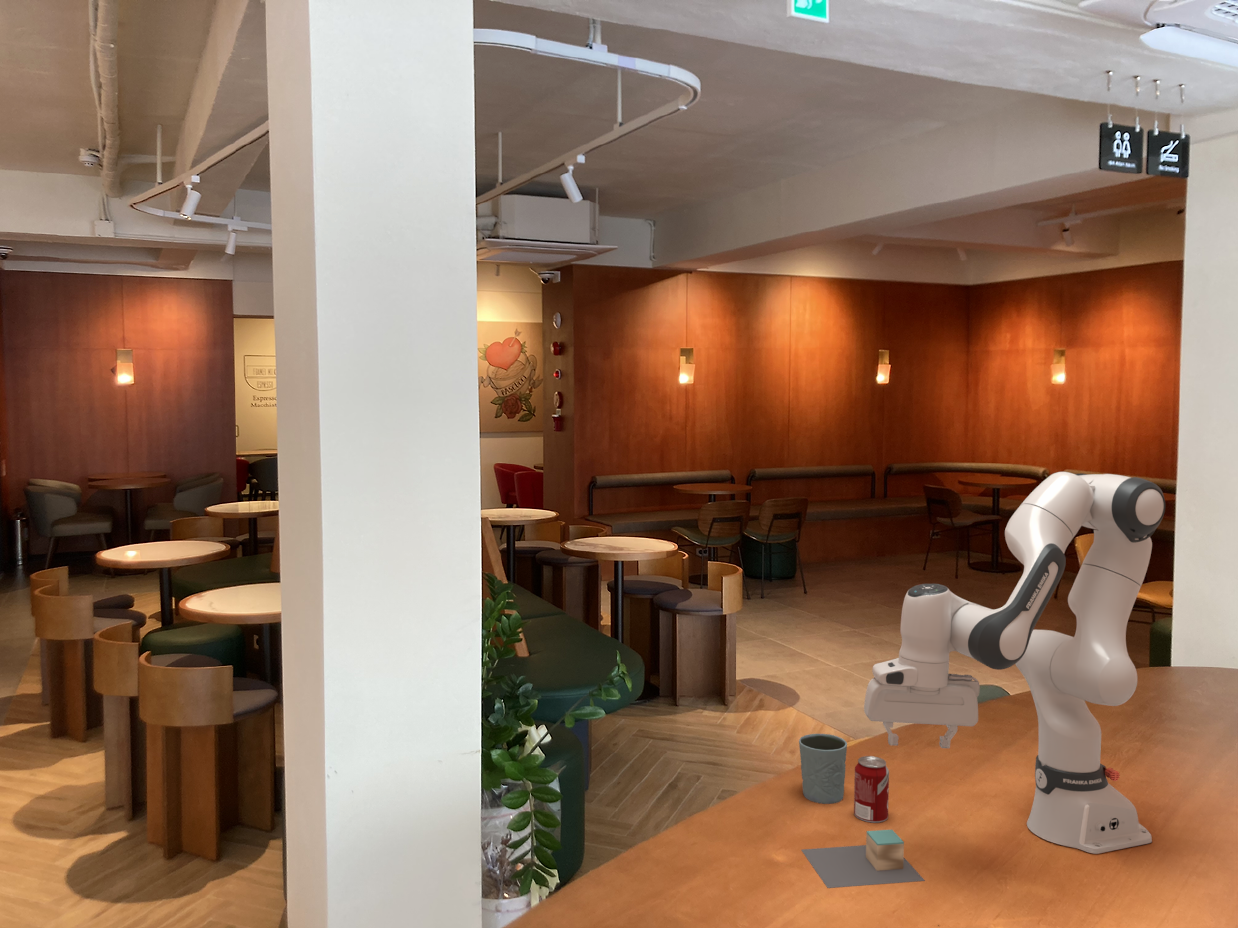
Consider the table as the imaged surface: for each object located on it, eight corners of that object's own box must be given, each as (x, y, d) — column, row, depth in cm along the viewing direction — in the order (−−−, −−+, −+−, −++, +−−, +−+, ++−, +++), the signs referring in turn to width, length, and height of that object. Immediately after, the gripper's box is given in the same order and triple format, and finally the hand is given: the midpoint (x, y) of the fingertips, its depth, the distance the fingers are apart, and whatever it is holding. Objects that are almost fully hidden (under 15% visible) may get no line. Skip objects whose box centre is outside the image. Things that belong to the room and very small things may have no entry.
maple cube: (891, 855, 175) (892, 829, 175) (903, 868, 170) (903, 841, 170) (865, 856, 175) (866, 830, 174) (877, 870, 170) (877, 843, 169)
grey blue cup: (846, 807, 197) (847, 751, 196) (797, 803, 199) (798, 747, 198) (845, 787, 207) (846, 734, 206) (798, 783, 209) (799, 731, 208)
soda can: (869, 828, 187) (870, 769, 187) (846, 814, 193) (848, 758, 193) (895, 821, 191) (896, 763, 190) (871, 808, 197) (873, 752, 196)
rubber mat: (891, 846, 180) (891, 843, 180) (925, 883, 166) (925, 880, 166) (800, 852, 177) (800, 849, 177) (827, 891, 164) (827, 887, 164)
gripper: (974, 670, 176) (970, 742, 177) (864, 664, 177) (860, 736, 177) (986, 680, 169) (981, 755, 170) (871, 674, 170) (867, 748, 171)
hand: (918, 745), depth 174 cm, fingers open, 8 cm apart
